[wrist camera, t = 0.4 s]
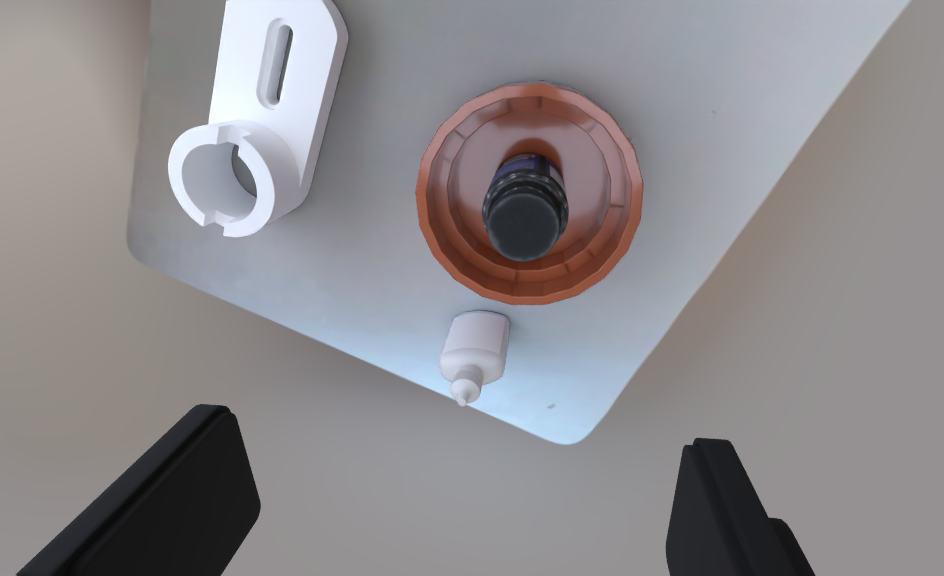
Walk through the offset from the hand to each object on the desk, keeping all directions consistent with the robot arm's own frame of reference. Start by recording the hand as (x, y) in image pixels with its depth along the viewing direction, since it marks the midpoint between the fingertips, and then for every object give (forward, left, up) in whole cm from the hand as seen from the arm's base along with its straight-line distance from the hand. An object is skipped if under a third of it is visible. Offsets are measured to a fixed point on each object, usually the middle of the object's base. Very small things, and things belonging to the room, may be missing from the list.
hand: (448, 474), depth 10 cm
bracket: (-17, -13, -34) cm, 40 cm away
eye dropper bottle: (+10, -13, -34) cm, 38 cm away
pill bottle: (+2, -1, -34) cm, 34 cm away
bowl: (+2, -1, -34) cm, 34 cm away
